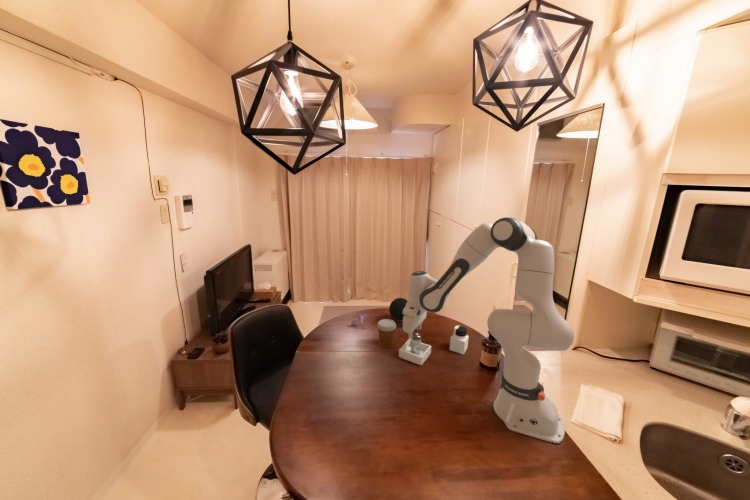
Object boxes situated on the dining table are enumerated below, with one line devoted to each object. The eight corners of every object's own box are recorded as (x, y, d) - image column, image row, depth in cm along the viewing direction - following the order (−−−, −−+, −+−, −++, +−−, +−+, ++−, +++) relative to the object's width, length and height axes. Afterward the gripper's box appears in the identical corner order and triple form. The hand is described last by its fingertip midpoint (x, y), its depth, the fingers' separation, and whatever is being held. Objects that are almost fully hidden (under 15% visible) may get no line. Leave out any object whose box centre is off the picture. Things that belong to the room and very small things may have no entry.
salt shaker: (412, 349, 140) (414, 330, 138) (421, 353, 138) (422, 333, 136) (409, 354, 137) (410, 334, 134) (417, 357, 135) (419, 337, 132)
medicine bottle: (467, 348, 145) (470, 326, 142) (463, 355, 139) (466, 332, 136) (453, 343, 148) (455, 322, 146) (449, 350, 143) (451, 328, 140)
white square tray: (430, 353, 140) (431, 345, 139) (421, 365, 130) (421, 357, 129) (409, 345, 146) (409, 338, 145) (398, 357, 136) (398, 349, 135)
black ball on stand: (384, 322, 168) (384, 298, 165) (397, 315, 178) (398, 292, 175) (402, 330, 160) (403, 305, 157) (415, 322, 170) (416, 298, 166)
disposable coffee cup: (383, 337, 152) (384, 316, 150) (398, 343, 147) (399, 322, 144) (372, 345, 145) (373, 323, 142) (388, 352, 140) (389, 329, 137)
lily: (372, 324, 168) (367, 309, 169) (374, 326, 156) (368, 310, 157) (353, 332, 166) (347, 316, 167) (353, 334, 155) (347, 317, 156)
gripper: (418, 297, 141) (416, 323, 144) (400, 312, 124) (399, 341, 127) (431, 300, 138) (428, 326, 141) (414, 315, 121) (412, 345, 124)
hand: (414, 333), depth 134 cm, fingers open, 8 cm apart
